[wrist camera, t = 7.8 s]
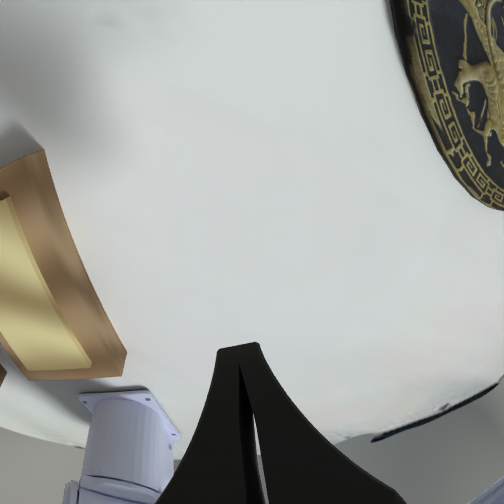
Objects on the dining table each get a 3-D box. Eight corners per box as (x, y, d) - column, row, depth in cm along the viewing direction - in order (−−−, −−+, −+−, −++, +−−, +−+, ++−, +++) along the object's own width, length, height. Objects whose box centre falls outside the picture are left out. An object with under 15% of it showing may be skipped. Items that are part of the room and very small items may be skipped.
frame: (127, 348, 22) (120, 381, 19) (38, 356, 21) (26, 384, 18) (47, 147, 14) (18, 159, 11) (-42, 195, 14) (-70, 211, 11)
